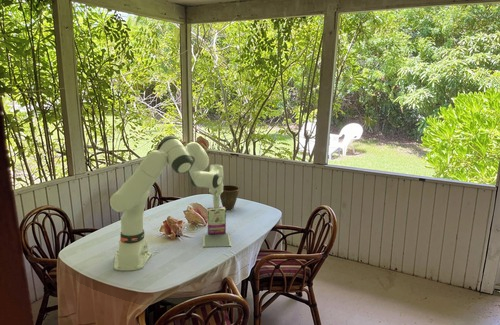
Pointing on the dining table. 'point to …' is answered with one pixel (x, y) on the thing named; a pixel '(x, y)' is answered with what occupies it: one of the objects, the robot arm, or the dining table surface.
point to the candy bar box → (216, 220)
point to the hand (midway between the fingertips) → (215, 209)
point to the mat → (216, 240)
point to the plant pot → (229, 196)
